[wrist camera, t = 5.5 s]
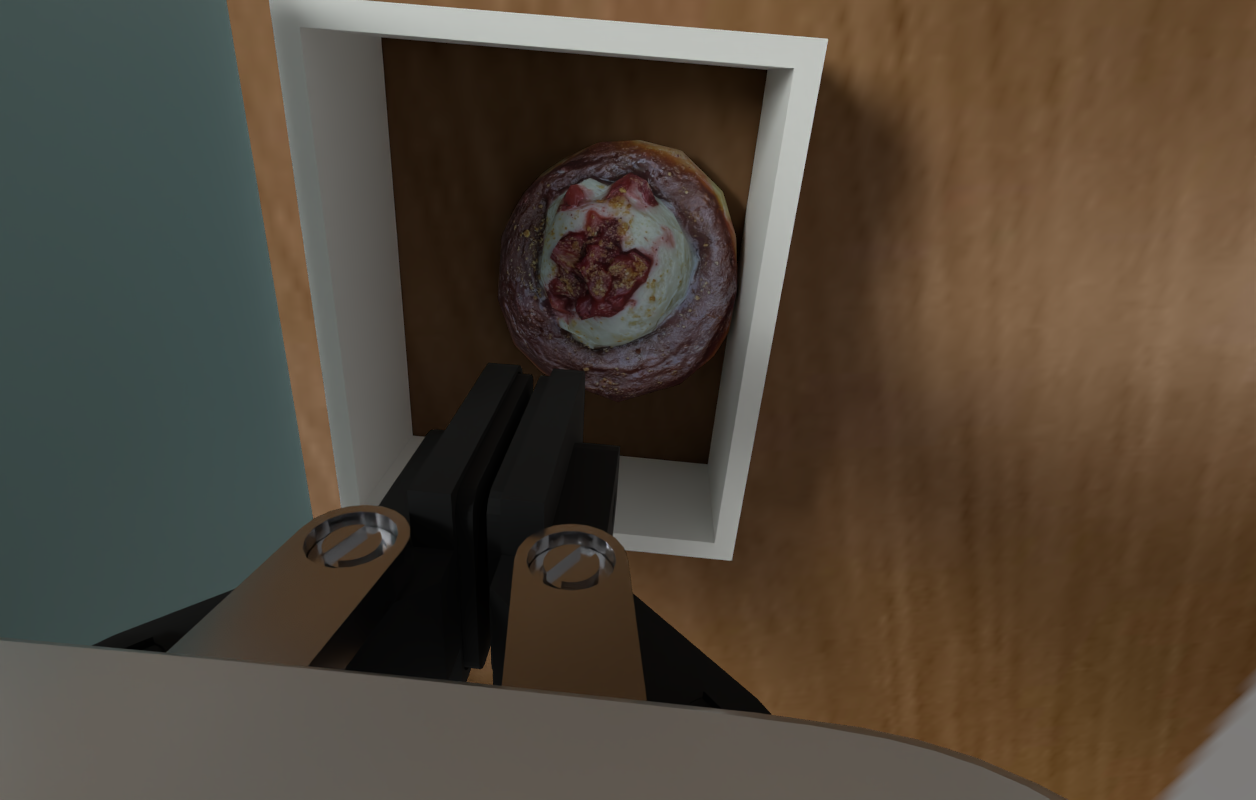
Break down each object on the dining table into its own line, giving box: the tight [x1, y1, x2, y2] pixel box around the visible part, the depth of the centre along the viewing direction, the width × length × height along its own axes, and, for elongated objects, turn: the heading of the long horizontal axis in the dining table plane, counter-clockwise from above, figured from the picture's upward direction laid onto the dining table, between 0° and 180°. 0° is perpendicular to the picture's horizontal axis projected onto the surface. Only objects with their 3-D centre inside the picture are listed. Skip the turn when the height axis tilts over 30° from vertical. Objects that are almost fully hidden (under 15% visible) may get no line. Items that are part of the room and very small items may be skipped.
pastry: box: [498, 140, 737, 402], centre depth 19 cm, size 8×8×5 cm
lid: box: [0, 0, 313, 646], centre depth 12 cm, size 15×11×1 cm
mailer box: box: [269, 0, 828, 561], centre depth 19 cm, size 14×12×4 cm
